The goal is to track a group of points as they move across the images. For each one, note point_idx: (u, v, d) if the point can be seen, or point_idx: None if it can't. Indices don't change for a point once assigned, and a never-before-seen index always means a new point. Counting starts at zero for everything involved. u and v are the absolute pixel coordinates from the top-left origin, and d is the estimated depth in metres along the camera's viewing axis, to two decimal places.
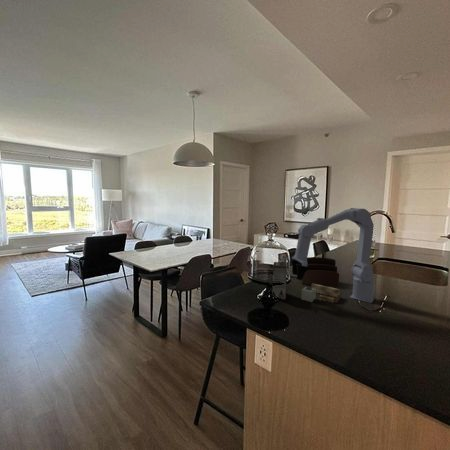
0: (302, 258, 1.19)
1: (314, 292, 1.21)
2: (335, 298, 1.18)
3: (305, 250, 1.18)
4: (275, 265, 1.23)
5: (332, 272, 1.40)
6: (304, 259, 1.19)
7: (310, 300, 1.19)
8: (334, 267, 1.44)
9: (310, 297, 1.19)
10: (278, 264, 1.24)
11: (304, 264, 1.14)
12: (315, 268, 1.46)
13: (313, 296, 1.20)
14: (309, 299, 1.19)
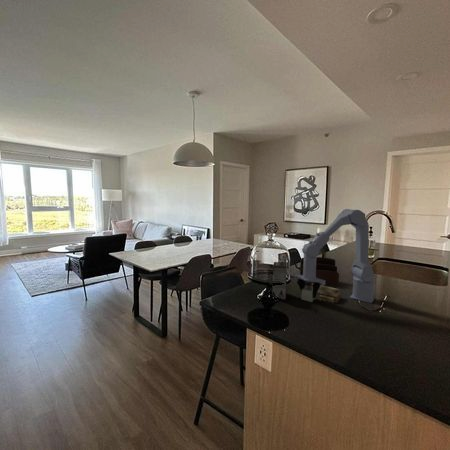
0: (315, 277, 1.19)
1: None
2: (335, 298, 1.18)
3: (313, 269, 1.18)
4: (275, 265, 1.23)
5: (332, 272, 1.41)
6: (315, 277, 1.20)
7: (310, 300, 1.19)
8: (334, 267, 1.44)
9: (310, 297, 1.19)
10: (278, 264, 1.24)
11: (324, 283, 1.16)
12: None
13: None
14: (309, 299, 1.19)
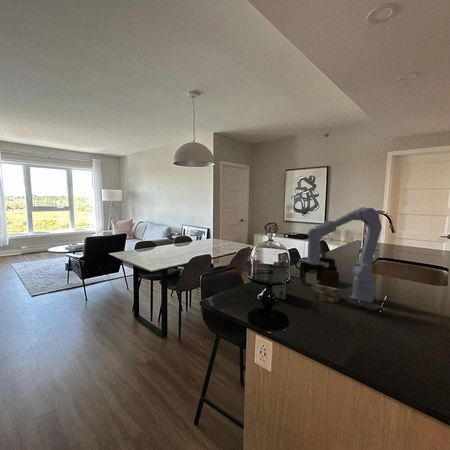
0: (318, 260, 1.24)
1: None
2: (335, 298, 1.18)
3: (315, 253, 1.23)
4: (275, 265, 1.23)
5: (332, 272, 1.41)
6: None
7: (314, 283, 1.24)
8: (334, 267, 1.45)
9: (314, 280, 1.24)
10: (278, 264, 1.24)
11: (327, 265, 1.22)
12: (315, 268, 1.47)
13: None
14: (313, 282, 1.24)
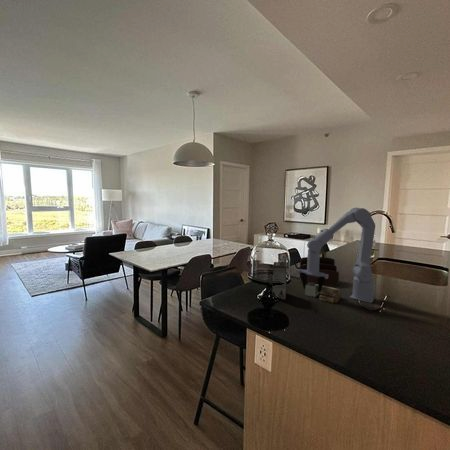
0: (318, 271, 1.25)
1: (317, 288, 1.27)
2: (335, 298, 1.18)
3: (315, 264, 1.24)
4: (275, 265, 1.23)
5: (332, 271, 1.42)
6: (318, 271, 1.26)
7: (313, 295, 1.25)
8: (333, 266, 1.46)
9: (313, 292, 1.25)
10: (278, 264, 1.24)
11: (327, 277, 1.22)
12: None
13: (316, 291, 1.26)
14: (312, 294, 1.25)
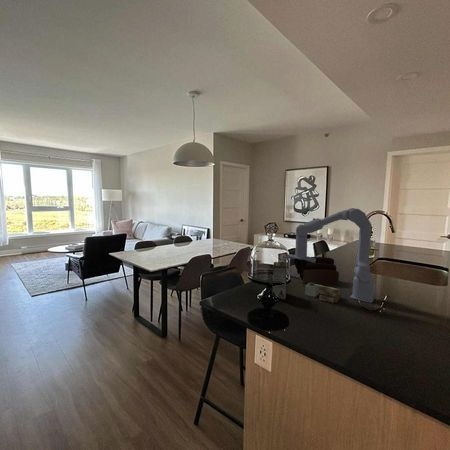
0: (306, 255, 1.28)
1: (317, 288, 1.27)
2: (335, 298, 1.18)
3: (302, 248, 1.27)
4: (275, 265, 1.23)
5: (332, 271, 1.42)
6: (306, 256, 1.29)
7: (313, 295, 1.25)
8: (333, 266, 1.46)
9: (313, 292, 1.25)
10: (278, 264, 1.24)
11: (314, 260, 1.26)
12: (315, 267, 1.47)
13: (316, 291, 1.26)
14: (312, 294, 1.25)
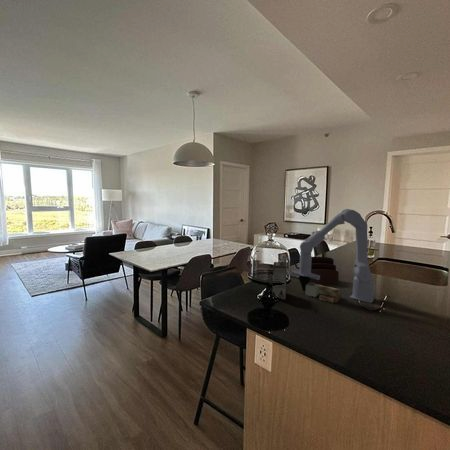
0: (310, 272, 1.28)
1: (317, 287, 1.26)
2: (335, 298, 1.18)
3: (306, 265, 1.26)
4: (275, 265, 1.23)
5: (332, 271, 1.43)
6: (310, 273, 1.29)
7: (314, 295, 1.25)
8: (333, 266, 1.47)
9: (314, 292, 1.25)
10: (278, 264, 1.24)
11: (319, 278, 1.25)
12: (315, 267, 1.48)
13: (316, 291, 1.26)
14: (313, 294, 1.25)
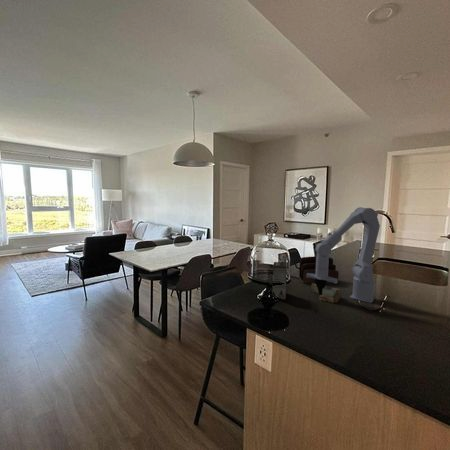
0: (327, 276, 1.22)
1: (335, 291, 1.21)
2: (335, 298, 1.18)
3: (324, 268, 1.21)
4: (275, 265, 1.23)
5: (332, 270, 1.43)
6: (327, 276, 1.23)
7: None
8: (333, 265, 1.47)
9: (331, 296, 1.19)
10: (278, 264, 1.24)
11: (336, 281, 1.20)
12: (315, 267, 1.48)
13: (334, 295, 1.21)
14: None
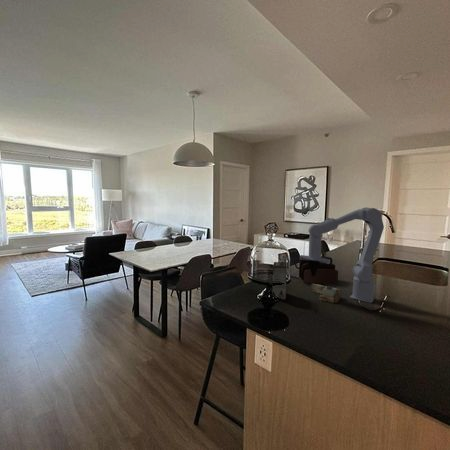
0: (320, 257, 1.24)
1: (335, 292, 1.21)
2: (335, 298, 1.18)
3: (316, 249, 1.23)
4: (275, 265, 1.23)
5: (332, 270, 1.44)
6: (320, 257, 1.25)
7: None
8: (332, 265, 1.48)
9: (331, 297, 1.19)
10: (278, 264, 1.24)
11: (329, 262, 1.21)
12: None
13: None
14: None
